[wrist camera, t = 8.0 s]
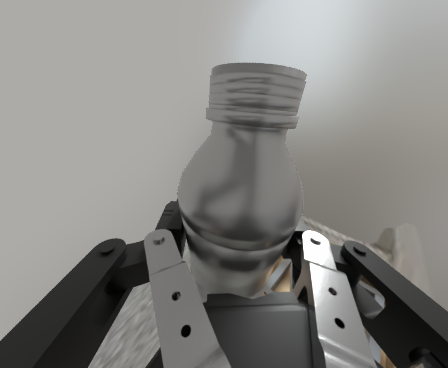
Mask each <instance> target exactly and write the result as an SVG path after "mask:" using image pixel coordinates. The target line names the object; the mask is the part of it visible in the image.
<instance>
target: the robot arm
mask: <svg viewBox="0 0 448 368" xmlns="http://www.w3.org/2000/svg"><path fill="white" fill-rule="evenodd" d="M185 241H186V234H185V230H184V225H183V221H182V217H181V213H180V209H179V201H178V199H177V201H171V202H170V203H168V204H167V205H166V207H165V209H164V211H163V214H162V216H161V218H160V220H159V222H158V224H157V227H156V229H155V231H153V232H151V233H149V234H148V235H147V236H146V237H145V239H144V240H143V241H140V242H136V243H132V244H127V245H126V243H125V242H124V241H123V240H122V239H117V238H115V239H109V240H106V241H104V242H102V243H100V244H98V245H97V246H96V247H94V248H93V249H92V250H91V251H90V252H89V253H88V254H87V255H86V256H85V257H84V258H83V259H82V260H81V261H80V262H79V263H78V264H77V265H76V266H75V267H74V268H73V269H72V270H71V271H70V272H69V273H68V274H67V275H66V276H65V277H64V278H63V279H62V280H61V281H60V282H59V283H58V284H57V285H56V286H55V287H54V288H53V289H52V290H51V291H50V292H49V293H48V294H47V295H46V296H45V297H44V298H43V299H42V300H41V301H40V302H39V303H38V304H37V305H36V306H35V307H34V308H33V309H32V310H31V311H30V312H29V313H28V314H27V315H26V316H25V317H24V318H23V319H22V320H21V321H20V322H19V323H18V324H17V325H16V326H15V327H14V328H13V329H12V330H11V331H10V332H9V333H8V334H7V335H6V336H5V337H4V338H3V339H2V340H1V341H0V368H88V366H89V365H90V363H91V361H92V359H93V357H94V356H95V354H96V352H97V350H98V349H99V347H100V345H101V343H102V342H103V340H104V338H105V336H106V335H107V333H108V331H109V329H110V327H111V326H112V324H113V322H114V320H115V319H116V317H117V315H118V313H119V312H120V310H121V308H122V306H123V305H124V303H125V301H126V299H127V297H128V296H129V294H130V292H131V290H132V289H133V287H136V286H139V285H142V284H145V283H148V282H150V285H151V292H152V298H153V304H154V310H155V316H156V323H157V329H158V335H159V341H160V348H159V350H158V351H157V352H156V354H155V355H154V357H153V358H152V359H151V361H150V362H149V363H148V365H147V366H146V367H145V368H384V367H383V366H381V365H380V364H379V363H378V362H377V361H376V360H375V359H374V358H373V355H372V352H371V349H370V346H369V343H368V340H367V337H366V334H365V331H364V328H365V329H366V330H367V331H368V333H369V334H370V335H371V336H372V338H373V339H374V340H375V342H376V343H377V344H378V345H379V347H380V348H381V349H382V350H383V352H384V353H385V354H386V355H387V357H388V358H389V359H390V360H391V362H392V363H393V364H394V366H395V367H396V368H448V312H447V311H446V310H445V309H444V308H442V307H441V306H440V305H439V304H437V303H436V302H435V301H434V300H432V299H431V298H430V297H429V296H427V295H426V294H425V293H424V292H422V291H421V290H420V289H419V288H417V287H416V286H415V285H414V284H412V283H411V282H410V281H409V280H407V279H406V278H405V277H404V276H402V275H401V274H400V273H399V272H397V271H396V270H395V269H394V268H392V267H391V266H390V265H389V264H387V263H386V262H385V261H384V260H382V259H381V258H380V257H379V256H377V255H376V254H375V253H374V252H372V251H371V250H370V249H369V248H367V247H366V246H364V245H362V244H360V243H358V242H355V241H345V243H344V244H343V246H338V245H334V244H330V243H329V242H328V240H327V239H326V238H325V237H324V236H322V235H321V234H319V233H316V232H313V231H310V229H309V228H308V227H307V225H306V224H305V223H304V222H303V220H302V219H300V221H299V223H298V225H297V227H296V229H295V232H294V233H293V234H292V236H291V238H290V240H289V242H288V243H287V245H286V247H285V249H284V250H283V252H282V254H281V255H282V257H283V259H291V261H292V263H291V265H290V292H272V293H269V294H266V295H263V296H261V297H258V298H255V299H250V298H246V297H242V296H238V295H234V294H230V293H219V294H207V301H206V302H204V303H202V301H201V298H200V296H199V293H198V291H197V288H196V286H195V283H194V281H193V278H192V276H191V273H190V271H189V268H188V266H187V263H186V262H185V261H182V257H183V252H184V247H185ZM363 276H364V277H365V278H366V279H367V280H368V281H369V282H370V283H371V284H372V285H373V286H374V287H375V288H376V289H377V290H378V291H379V292H380V293H381V294H382V295H383V297H384V298H385V300H386V307H385V308H383V307H382V306H381V305H380V304H379V303H378V302H377V301H376V300H375V299H374V298H373V297H372V296H371V295H370V294H369V293H368V292H367V291H366V290H365V289H364V288H363V287H362V285H361V284H360V283H359V281H360V280H361V278H362V277H363ZM363 326H364V328H363Z"/></svg>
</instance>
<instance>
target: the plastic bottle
mask: <svg viewBox="0 0 448 368" xmlns="http://www.w3.org/2000/svg"><path fill="white" fill-rule="evenodd" d="M306 76H307V75H306V73H304V72H303V71H301V70H298V69H295V68H291V67H286V66H281V65H274V64H264V63H230V64H223V65H218V66H215V67H214V68H212V75H211V76H210V95H209V108H206V119H208V120H212V121H213V126H212V130H211V135H210V136H209V137H208V138H207V139H206V141H205V142H204V143H203V144H202V145H201V147H200V148H199V149H198V150H197V151H196V153H195V154H194V156H193V157H192V159H191V160H190V162H189V163H188V165H187V166H186V168H185V169H184V171H183V173H182V176H181V179H180V183H179V187H178V193H177V195H178V201H179V209H180V213H181V217H182V221H183V225H184V230H185V234H186V238H187V243H188V247H189V258H190V265H191V276H192V278H193V281H194V283H195V286H196V288H197V291H198V293H199V296H200V298H201V301H202V303H204V302H206V301H207V294H219V293H230V294H234V295H238V296H242V297H246V298H250V299H255V298H258V297H261V296H263V294H264V289H265V287H266V284H267V282H268V279H269V277H270V275H271V272H272V270H273V267H274V265H275V264H276V262H277V260H278V259H279V257H280V255H281V254H282V252H283V250H284V249H285V247H286V245H287V243H288V242H289V240H290V238H291V236H292V234H293V233H294V232H295V229H296V227H297V225H298V223H299V221H300V219H301V216H302V214H303V188H302V184H301V181H300V178H299V175H298V172H297V169H296V166H295V164H294V162H293V160H292V158H291V155H290V153H289V151H288V148H287V146H286V144H285V140H286V132H287V130H288V129H294V128H296V125H297V122H298V118H299V117H297V116H296V115H297V112H298V108H299V104H300V101H301V98H302V94H303V90H304V87H305V84H306V81H305V79H306Z"/></svg>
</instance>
